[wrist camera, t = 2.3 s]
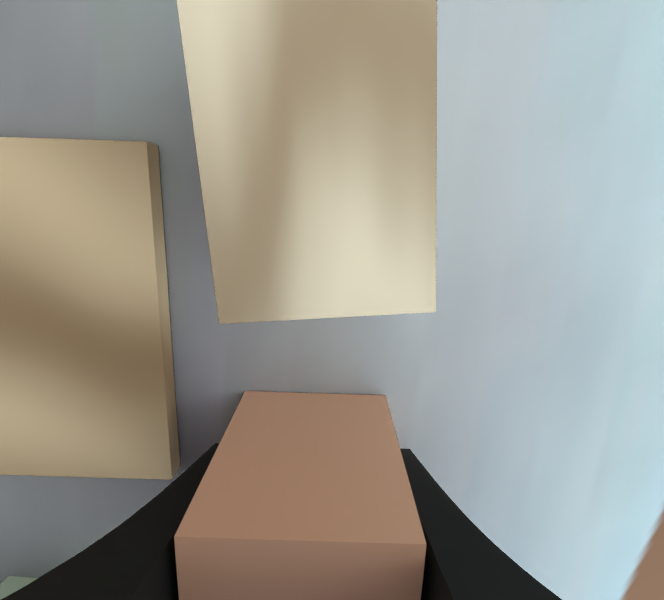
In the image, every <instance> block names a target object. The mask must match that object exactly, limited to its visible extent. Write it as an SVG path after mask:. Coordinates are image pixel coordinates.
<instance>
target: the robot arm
mask: <svg viewBox="0 0 664 600" xmlns="http://www.w3.org/2000/svg"><path fill="white" fill-rule="evenodd" d="M219 444H220V443H216V444H214V445H213V446H212V447H211V448H210V449H209V450H208V451H207V452H205V453H204V454H203V455H202V456H201V457H200V458H199V459H198V460H197V461H196V462H194V463H193V464H192V465H191V466H190V467H189V468H188V469H187V470H186V471H185V472H184V473H182V474H181V475H180V476H179V477H178V478H177V479H176V480H175V481H173V482H172V483H171V484H170V485H169V486H168V487H167V488H165V489H164V490H163V491H162V492H161V493H160V494H159V495H157V496H156V497H155V498H154V499H152V500H151V501H150V502H149V503H147V504H146V505H145V506H144V507H142V508H141V509H140V510H139V511H137V512H136V513H135V514H134V515H132V516H131V517H130V518H129V519H127V520H126V521H125V522H123V523H122V524H121V525H119V526H118V527H117V528H115V529H114V530H112V531H111V532H110V533H108V534H107V535H105V536H104V537H102V538H101V539H99V540H98V541H97V542H95V543H94V544H92V545H91V546H89V547H88V548H86V549H85V550H83V551H82V552H80V553H79V554H77V555H76V556H74V557H72V558H71V559H69V560H67V561H66V562H64V563H63V564H61V565H59V566H58V567H56V568H54V569H53V570H51V571H49V572H48V573H46V574H44V575H43V576H41V577H39V578H38V579H36V580H34V581H33V582H31V583H30V584H28V585H26V586H24V587H23V588H21V589H19V590H17V591H16V592H14V593H12V594H10V595H8V596H6V597H5V598H3V599H1V600H179V595H178V582H177V569H176V556H175V543H174V536H175V534H176V532H177V530H178V528H179V526H180V524H181V522H182V520H183V517H184V515H185V513H186V511H187V509H188V507H189V505H190V503H191V501H192V499H193V497H194V495H195V493H196V491H197V489H198V487H199V485H200V483H201V481H202V478H203V476H204V474H205V472H206V470H207V468H208V466H209V464H210V462H211V460H212V458H213V456H214V454H215V452H216V450H217V448H218V446H219ZM400 450H401V454H402V457H403V461H404V465H405V468H406V472H407V475H408V479H409V483H410V486H411V490H412V493H413V497H414V501H415V504H416V508H417V512H418V515H419V519H420V522H421V526H422V530H423V533H424V537H425V540H426V544H427V545H426V554H425V564H424V573H423V583H422V592H421V600H561V599H560V598H559V597H558V596H556V595H555V594H554V593H552V592H551V591H550V590H548V589H547V588H546V587H545V586H543V585H542V584H541V583H539V582H538V581H537V580H536V579H534V578H533V577H532V576H531V575H529V574H528V573H527V572H526V571H525V570H523V569H522V568H521V567H520V566H519V565H517V564H516V563H515V562H514V561H513V560H512V559H511V558H510V557H508V556H507V555H506V554H505V553H504V552H503V551H502V550H500V549H499V548H498V547H497V546H496V545H495V544H494V543H493V542H492V541H491V540H489V539H488V538H487V537H486V536H485V535H484V534H483V533H482V532H481V531H480V530H479V529H478V528H477V527H476V526H475V525H474V524H473V523H472V522H471V521H470V520H469V519H468V518H467V517H466V515H465V514H464V513H463V512H462V511H461V510H460V509H459V508H458V507H457V506H456V504H455V503H454V502H453V501H452V500H451V499H450V498H449V497H448V495H447V494H446V493H445V492H444V491H443V490H442V489H441V487H440V486H439V485H438V484H437V483H436V481H435V480H434V479H433V478H432V476H431V475H430V474H429V473H428V471H427V470H426V469H425V468H424V466H423V465H422V464H421V463H420V461H419V460H418V459H417V458H416V456H415V455H414V454H413V453H412V451H411V450H410V449H400Z"/></svg>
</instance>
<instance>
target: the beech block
mask: <svg viewBox="0 0 664 600" xmlns="http://www.w3.org/2000/svg"><path fill="white" fill-rule="evenodd" d="M177 6H178V14H179V21H180V29H181V37H182V44H183V52H184V60H185V67H186V75H187V82H188V90H189V98H190V105H191V113H192V120H193V128H194V136H195V143H196V151H197V159H198V166H199V174H200V181H201V189H202V197H203V204H204V212H205V219H206V227H207V235H208V242H209V250H210V257H211V265H212V273H213V280H214V288H215V296H216V303H217V311H218V318H219V324H227V323H245V322H263V321H281V320H300V319H318V318H336V317H354V316H372V315H390V314H409V313H427V312H436V162H437V0H177Z"/></svg>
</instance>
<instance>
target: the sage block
mask: <svg viewBox="0 0 664 600" xmlns="http://www.w3.org/2000/svg"><path fill="white" fill-rule="evenodd" d="M36 579H38V578H31V577H17V576H8V577H7V578H6V579H5V580H4V581H3V582H2V583H1V585H0V600H1V599H3V598H5V597H6V596H8V595H10V594H12V593H14V592H16V591H17V590H19V589H21V588H23V587H24V586H26V585H28V584H30V583H31V582H33V581H34V580H36Z"/></svg>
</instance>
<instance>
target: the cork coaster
mask: <svg viewBox="0 0 664 600" xmlns="http://www.w3.org/2000/svg"><path fill="white" fill-rule="evenodd" d="M179 467H180V455H179V441H178V426H177V412H176V397H175V383H174V369H173V354H172V340H171V325H170V311H169V296H168V282H167V267H166V253H165V238H164V224H163V210H162V195H161V181H160V166H159V152H158V146H157V145H154V144H152V143H149V142H141V141H110V140H79V139H48V138H17V137H0V475H32V476H66V477H99V478H132V479H166V480H172V479H173V477H174V476H175V474H176V472H177V471H178V469H179Z"/></svg>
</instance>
